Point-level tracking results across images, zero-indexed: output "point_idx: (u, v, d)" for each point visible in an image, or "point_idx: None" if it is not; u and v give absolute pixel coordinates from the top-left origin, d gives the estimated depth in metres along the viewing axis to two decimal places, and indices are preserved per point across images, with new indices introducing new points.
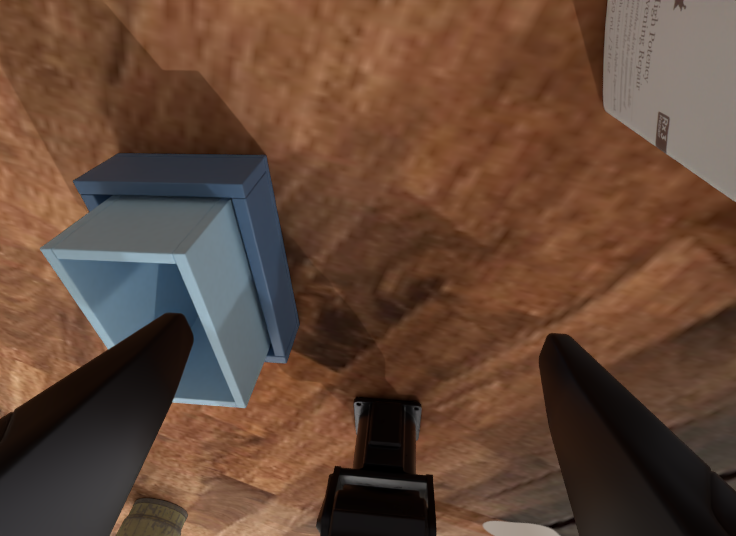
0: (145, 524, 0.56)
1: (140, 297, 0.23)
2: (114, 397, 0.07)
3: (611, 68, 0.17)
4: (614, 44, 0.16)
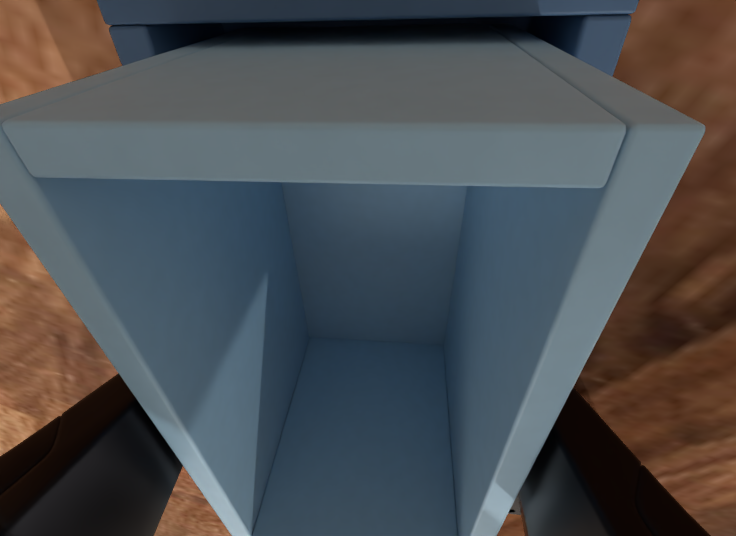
0: None
1: (245, 317, 0.10)
2: None
3: None
4: None
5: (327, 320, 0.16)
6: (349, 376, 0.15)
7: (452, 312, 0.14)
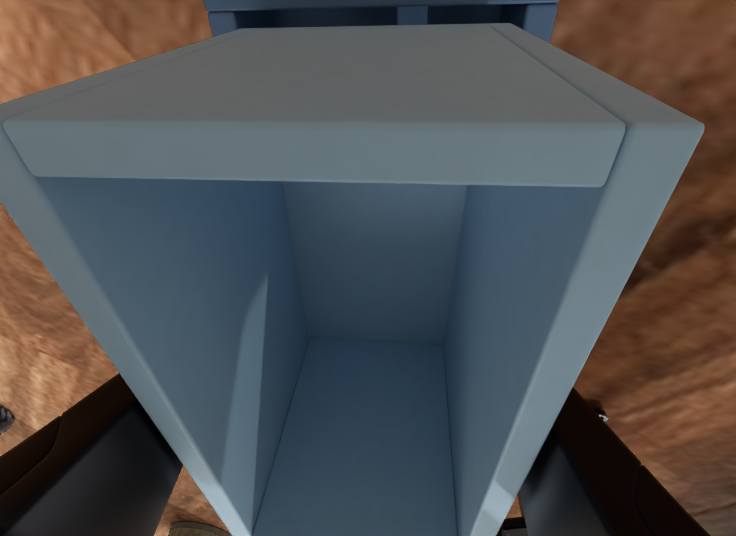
0: None
1: (245, 317, 0.10)
2: None
3: None
4: None
5: (327, 320, 0.16)
6: (349, 376, 0.15)
7: (452, 312, 0.14)
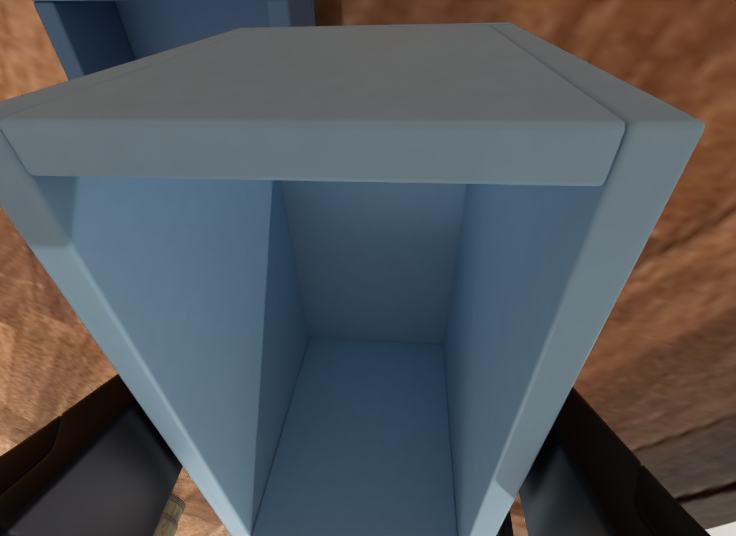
0: None
1: (244, 316, 0.10)
2: None
3: None
4: None
5: (327, 320, 0.16)
6: (349, 376, 0.15)
7: (452, 312, 0.14)
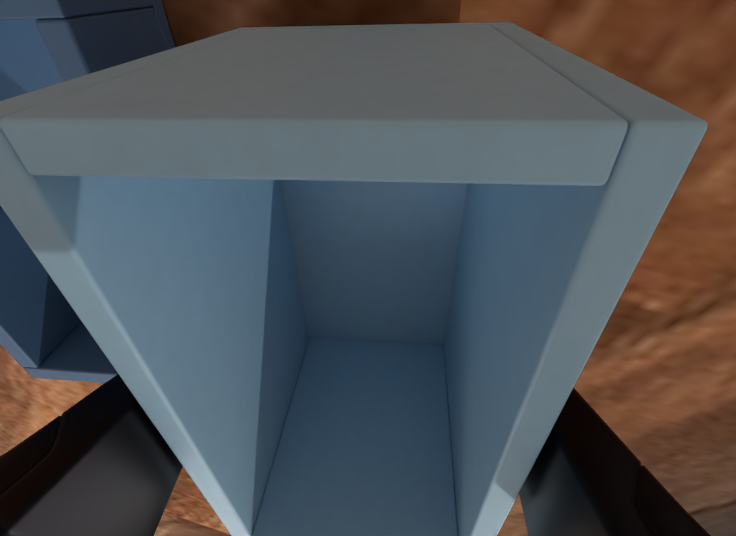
0: None
1: (244, 317, 0.10)
2: None
3: None
4: None
5: (327, 320, 0.16)
6: (349, 376, 0.15)
7: (452, 312, 0.14)
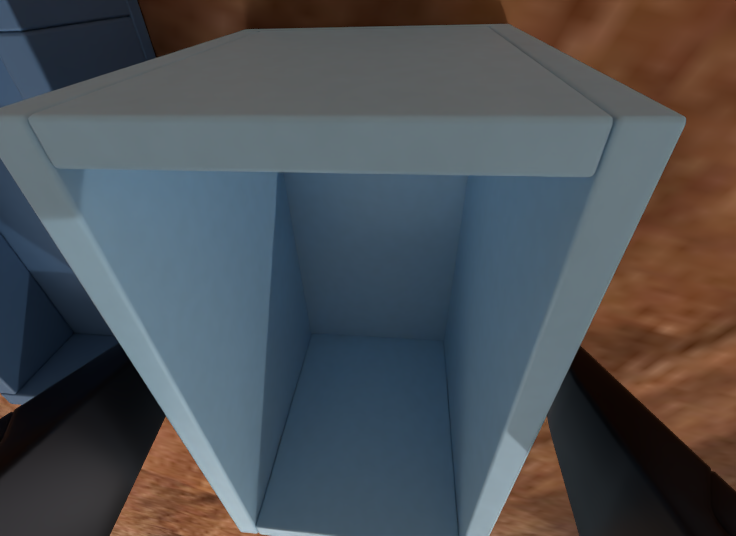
0: None
1: (250, 311, 0.10)
2: (114, 397, 0.07)
3: None
4: None
5: (329, 316, 0.16)
6: (351, 371, 0.15)
7: (452, 308, 0.14)
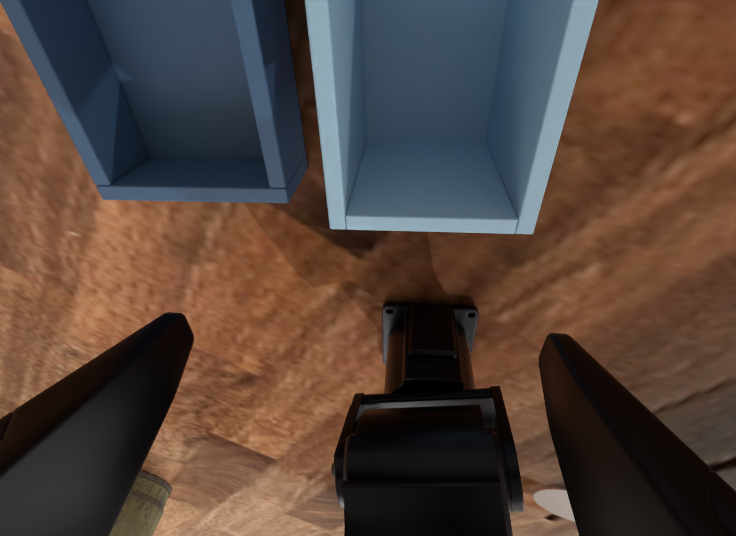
0: None
1: (347, 13, 0.12)
2: (114, 397, 0.07)
3: None
4: None
5: (384, 117, 0.18)
6: (407, 154, 0.17)
7: (498, 82, 0.16)
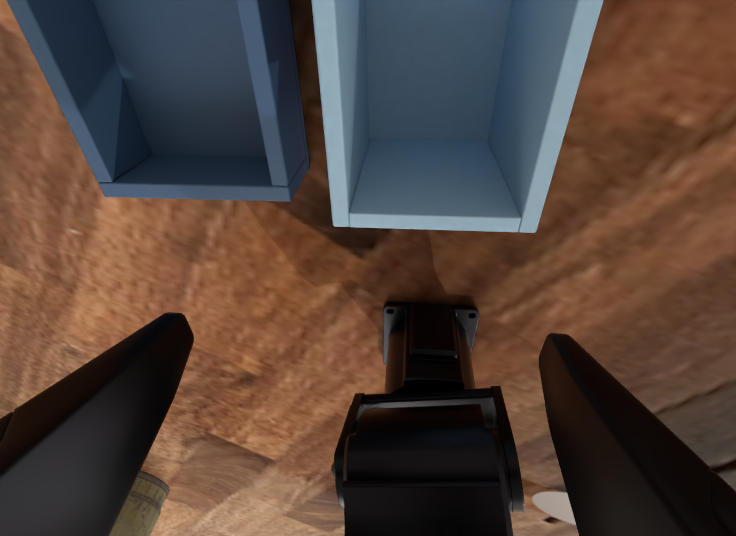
0: None
1: (352, 11, 0.12)
2: (114, 397, 0.07)
3: None
4: None
5: (387, 116, 0.18)
6: (409, 153, 0.17)
7: (501, 82, 0.16)
